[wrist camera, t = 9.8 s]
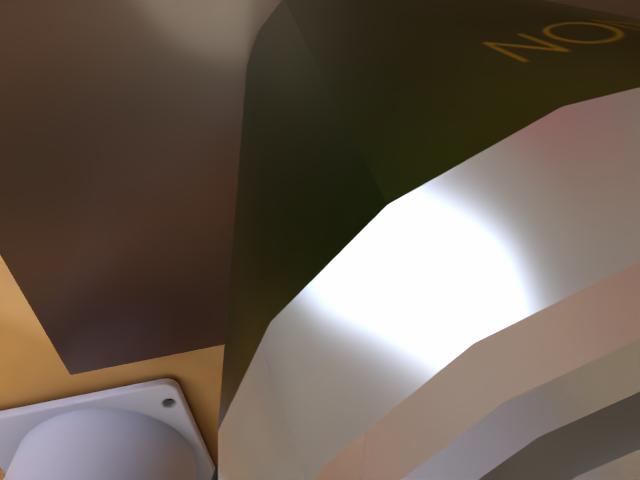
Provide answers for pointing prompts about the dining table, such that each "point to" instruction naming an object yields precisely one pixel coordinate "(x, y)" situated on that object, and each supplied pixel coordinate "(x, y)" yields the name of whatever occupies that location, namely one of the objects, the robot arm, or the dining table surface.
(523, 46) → the beer can
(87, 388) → the dining table surface
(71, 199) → the walnut board
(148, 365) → the dining table surface
